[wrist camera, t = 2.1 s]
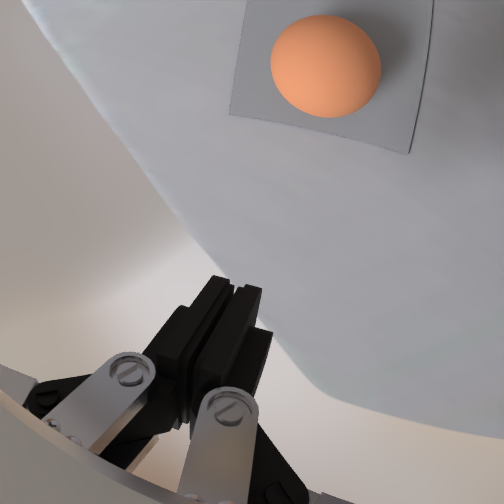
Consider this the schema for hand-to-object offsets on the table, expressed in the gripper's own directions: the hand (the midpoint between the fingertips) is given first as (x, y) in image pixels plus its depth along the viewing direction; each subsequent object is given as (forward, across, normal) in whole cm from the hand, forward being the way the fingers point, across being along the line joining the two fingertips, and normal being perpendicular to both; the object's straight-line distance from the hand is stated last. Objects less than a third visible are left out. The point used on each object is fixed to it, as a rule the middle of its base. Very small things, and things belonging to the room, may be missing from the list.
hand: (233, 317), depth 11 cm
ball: (+10, -1, -10) cm, 14 cm away
